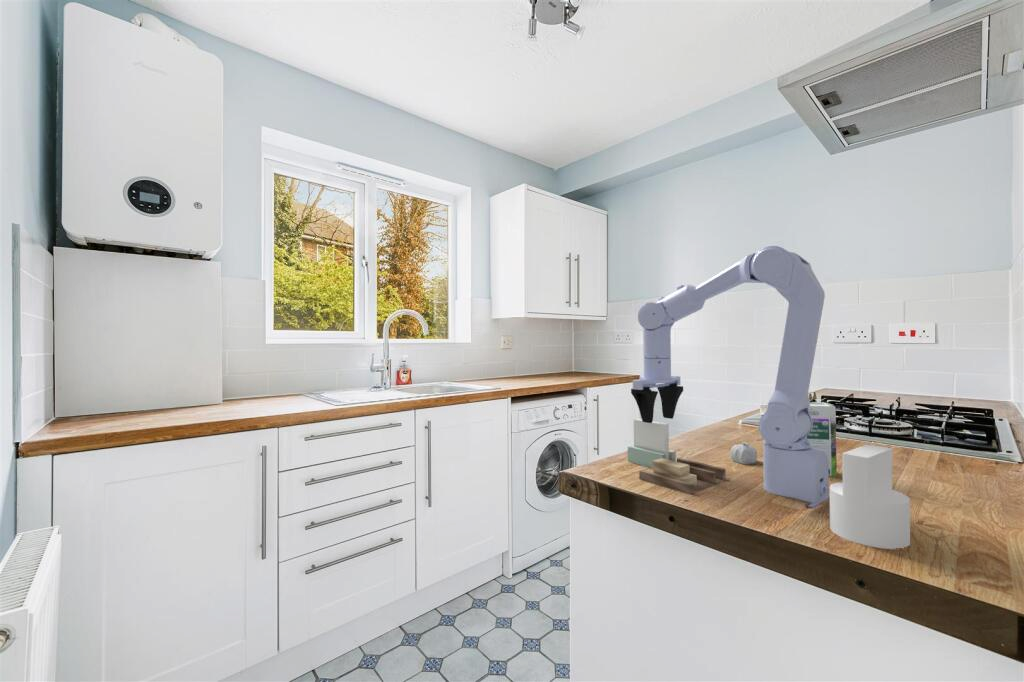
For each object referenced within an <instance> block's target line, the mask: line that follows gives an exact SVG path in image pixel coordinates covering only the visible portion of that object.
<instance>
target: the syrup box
mask: <svg viewBox="0 0 1024 682" xmlns="http://www.w3.org/2000/svg"><path fill="white" fill-rule="evenodd" d="M836 411H837V410H836V406H835V405H833V404H831V403H829V402H823V401H822V402H812V401H810V407H809V412H810V416H811V418H812V421H813V427H812V430H811V432H810V433H809V434H808V435H807V436H806V438H807V439H808V441H809V443H810V448H812V449H814V450H817V451H821V452H824V453H825V454H826V456H827V459H828V477H834V478H837V477H838V471H837V469H838V467H837V466H838V465H837V464H838V463H837V425H836V424H837V416H836V414H837V413H836Z"/></svg>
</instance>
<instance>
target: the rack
mask: <svg viewBox="0 0 1024 682" xmlns="http://www.w3.org/2000/svg"><path fill="white" fill-rule="evenodd" d="M676 462H680V463H684V464H688V465H690V474H694V475H697V485H695V486H694V484H691V483H687V482H684V481H680V480H677V479H673V478H669V477H666V476H662V475H659V474H655V473H653V472H651V471H648V470H644V469H641V470H639V477H638V478H639V480H643V481H646V482H649V483H653V484H655V485H658V486H661V487H666V488H667V489H668V488H669V489H672V490H676V491H679V492H681V493H685V494H689V495H692V494H695V493H697V492H700V491H703V490H705V489H708V488H710V487H713V486H716V485H718V484H720V483H724V482H726V481H729V480H731V479H732V477H728V476H727V475H726V473H727V472H726V468H724V467H720V466H716V465H711V464H708V463H703V462H699V461H695V460H689V459H686V458H682V457H678V458H676Z"/></svg>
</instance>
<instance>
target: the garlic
mask: <svg viewBox="0 0 1024 682" xmlns="http://www.w3.org/2000/svg"><path fill="white" fill-rule="evenodd" d="M729 455H730V458H731V460H732V461H733V462H735V463H738V464H742V465H747V464H749V465H751V464H752V465H753V464H756V463H757V460H758V451H757V448H755V446H752V445H750V443H748V442H746V441H743V442H742V443H739V444H734V445H733V446H732V447H731V448H730V452H729Z"/></svg>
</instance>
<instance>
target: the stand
mask: <svg viewBox="0 0 1024 682" xmlns="http://www.w3.org/2000/svg"><path fill="white" fill-rule="evenodd" d="M676 453H677V452H676V450H673V449H672V450H671V449H669V460H672V461H676V462H677V458H676V457H677V456H676ZM661 458H663V459H666V454H664V453H660V452H655V451H651V450H647V449H643V448H638V447H634V445H629V446H627V462H629V463H633V464H635V465H636V464H637V465H639V466H643V467H648V468H652V469H653V461H654V460H657V459H661Z"/></svg>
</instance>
